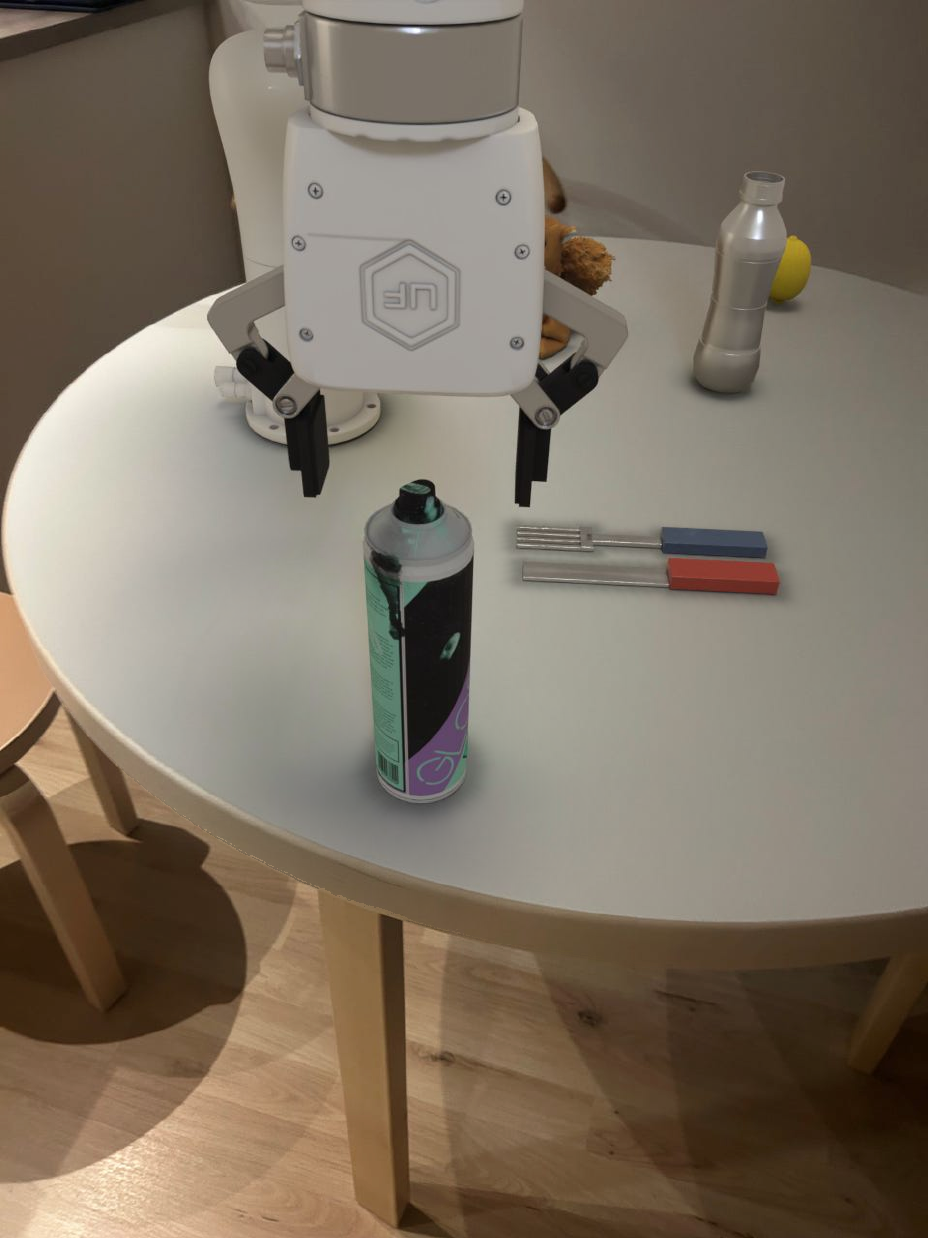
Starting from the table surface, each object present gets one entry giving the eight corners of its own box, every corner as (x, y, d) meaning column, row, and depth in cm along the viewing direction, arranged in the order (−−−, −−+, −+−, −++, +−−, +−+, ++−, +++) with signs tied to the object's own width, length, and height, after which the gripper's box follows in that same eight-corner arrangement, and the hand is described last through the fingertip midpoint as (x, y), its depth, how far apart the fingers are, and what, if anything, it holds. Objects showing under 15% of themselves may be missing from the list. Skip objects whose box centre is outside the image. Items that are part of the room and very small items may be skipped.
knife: (522, 581, 72) (523, 569, 71) (523, 562, 74) (523, 550, 73) (776, 594, 72) (780, 581, 71) (770, 575, 73) (774, 562, 73)
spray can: (456, 811, 55) (463, 526, 43) (365, 795, 56) (344, 510, 43) (474, 742, 60) (485, 463, 47) (389, 728, 60) (377, 450, 47)
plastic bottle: (707, 403, 94) (750, 190, 82) (677, 373, 99) (714, 168, 86) (765, 396, 96) (817, 186, 83) (733, 367, 101) (777, 164, 88)
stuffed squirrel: (466, 334, 106) (469, 210, 97) (556, 303, 113) (566, 185, 104) (529, 365, 100) (538, 237, 92) (619, 331, 107) (635, 208, 99)
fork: (516, 548, 75) (517, 537, 75) (517, 527, 78) (517, 517, 77) (766, 560, 75) (768, 549, 74) (759, 539, 77) (762, 529, 76)
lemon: (745, 297, 115) (759, 229, 110) (785, 293, 117) (801, 225, 112) (769, 315, 111) (785, 246, 106) (810, 310, 113) (828, 242, 108)
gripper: (138, 85, 31) (216, 523, 42) (672, 102, 31) (610, 541, 42) (200, 44, 37) (253, 439, 48) (649, 58, 36) (600, 454, 47)
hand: (419, 486), depth 45 cm, fingers open, 9 cm apart
